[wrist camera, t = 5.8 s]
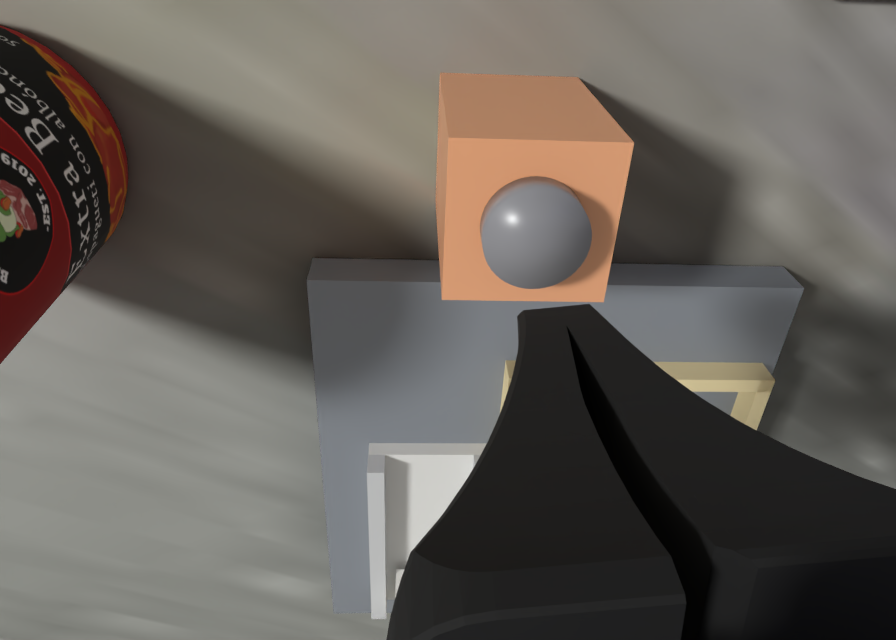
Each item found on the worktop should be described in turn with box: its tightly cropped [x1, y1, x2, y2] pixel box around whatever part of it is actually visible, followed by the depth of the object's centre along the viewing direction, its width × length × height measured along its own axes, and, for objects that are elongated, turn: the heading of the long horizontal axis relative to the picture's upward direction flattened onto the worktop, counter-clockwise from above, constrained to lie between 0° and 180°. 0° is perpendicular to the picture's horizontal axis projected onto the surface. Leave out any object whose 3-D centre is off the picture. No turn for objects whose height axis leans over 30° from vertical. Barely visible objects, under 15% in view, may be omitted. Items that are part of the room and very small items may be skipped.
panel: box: [307, 258, 804, 619], centre depth 26 cm, size 16×17×3 cm
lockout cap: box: [436, 73, 634, 302], centre depth 18 cm, size 4×4×7 cm
